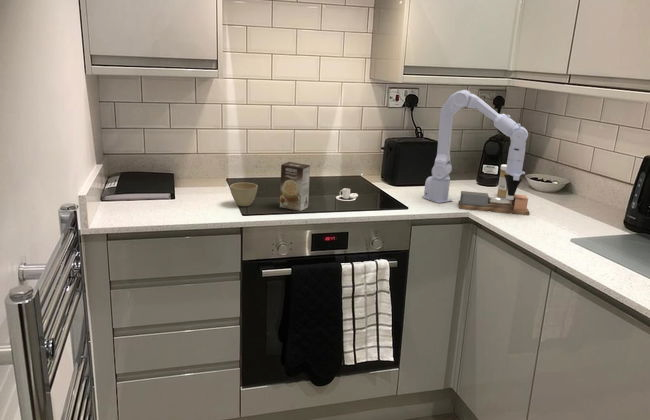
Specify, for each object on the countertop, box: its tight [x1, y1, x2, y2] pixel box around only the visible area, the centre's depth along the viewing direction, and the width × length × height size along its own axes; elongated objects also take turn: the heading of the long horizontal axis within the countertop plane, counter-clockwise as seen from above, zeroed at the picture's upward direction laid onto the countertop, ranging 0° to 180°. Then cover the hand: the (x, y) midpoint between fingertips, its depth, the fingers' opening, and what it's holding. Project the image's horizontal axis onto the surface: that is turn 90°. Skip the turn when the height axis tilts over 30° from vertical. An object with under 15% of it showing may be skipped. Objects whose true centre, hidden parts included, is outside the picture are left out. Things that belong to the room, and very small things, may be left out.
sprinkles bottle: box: [496, 164, 509, 198], centre depth 224 cm, size 5×5×14 cm
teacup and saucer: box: [335, 187, 359, 202], centre depth 211 cm, size 9×8×4 cm
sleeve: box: [459, 190, 490, 207], centre depth 207 cm, size 10×4×4 cm, turn 80°
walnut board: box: [457, 200, 530, 216], centre depth 206 cm, size 26×8×1 cm, turn 80°
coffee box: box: [279, 161, 311, 212], centre depth 194 cm, size 9×6×16 cm
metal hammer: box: [488, 187, 515, 206], centre depth 204 cm, size 14×3×8 cm, turn 80°
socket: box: [512, 193, 529, 211], centre depth 204 cm, size 4×5×5 cm
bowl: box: [229, 182, 258, 207], centre depth 196 cm, size 10×10×7 cm
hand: (510, 194), depth 204 cm, fingers closed on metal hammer, 2 cm apart
